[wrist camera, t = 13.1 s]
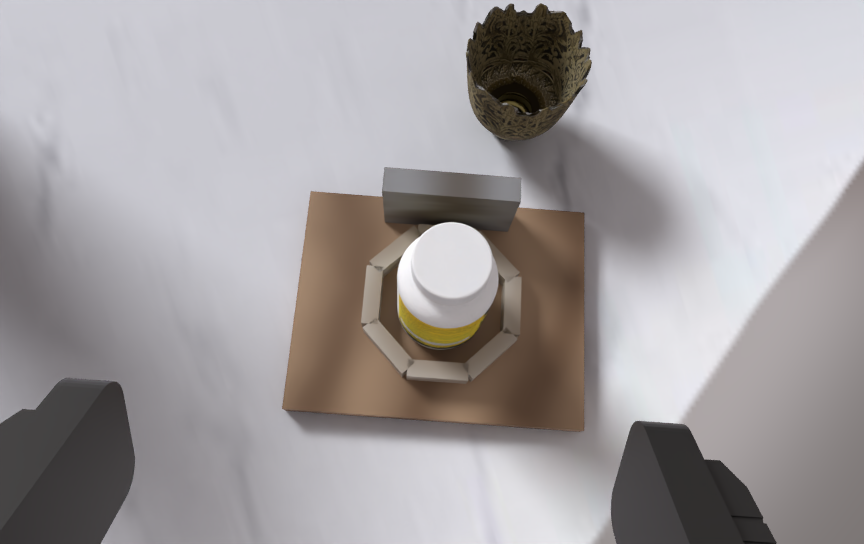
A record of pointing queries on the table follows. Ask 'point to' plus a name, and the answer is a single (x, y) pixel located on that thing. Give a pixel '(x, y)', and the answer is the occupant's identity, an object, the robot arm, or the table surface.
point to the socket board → (420, 366)
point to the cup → (524, 70)
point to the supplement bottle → (446, 285)
